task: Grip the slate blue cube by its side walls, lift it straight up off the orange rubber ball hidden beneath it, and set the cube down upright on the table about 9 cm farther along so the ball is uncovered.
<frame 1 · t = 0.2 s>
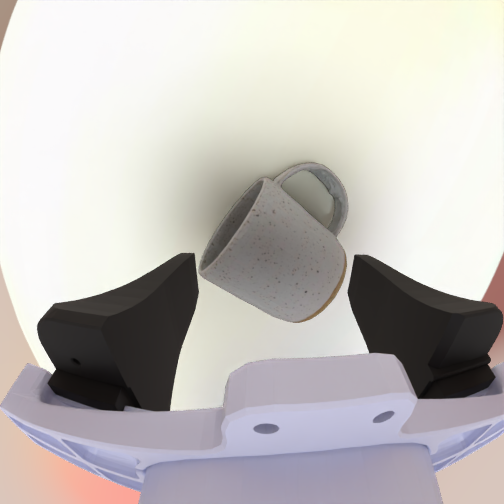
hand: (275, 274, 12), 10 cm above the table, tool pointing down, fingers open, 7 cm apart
ceramic mug: (280, 219, 22), on the table
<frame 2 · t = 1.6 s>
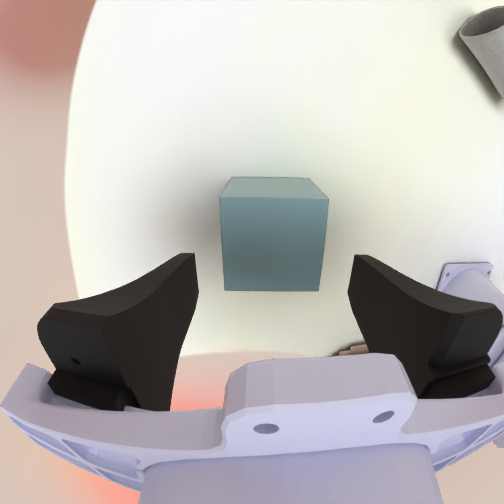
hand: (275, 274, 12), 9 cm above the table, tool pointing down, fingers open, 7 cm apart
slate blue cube: (270, 214, 20), on the table
ceramic mug: (486, 51, 12), on the table
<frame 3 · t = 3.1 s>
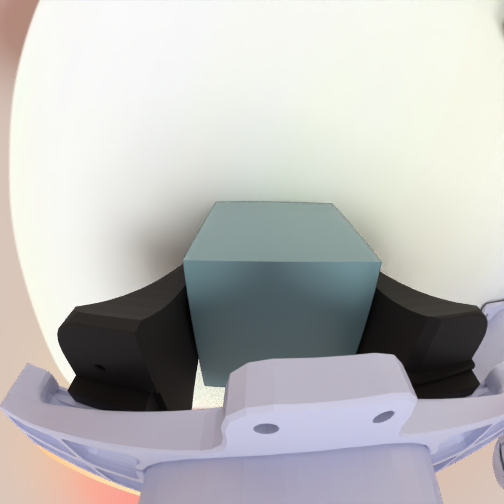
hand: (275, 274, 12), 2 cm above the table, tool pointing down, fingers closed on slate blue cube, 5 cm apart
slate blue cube: (273, 255, 14), on the table, touching gripper
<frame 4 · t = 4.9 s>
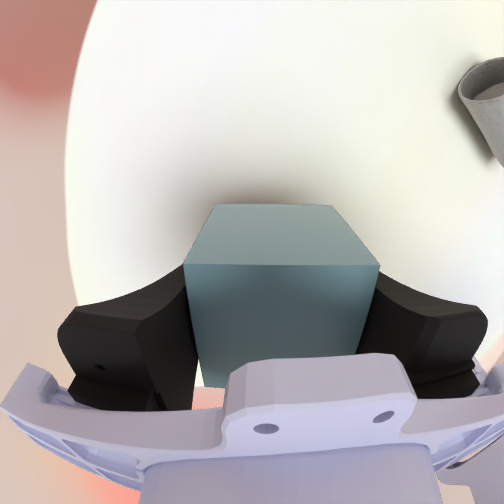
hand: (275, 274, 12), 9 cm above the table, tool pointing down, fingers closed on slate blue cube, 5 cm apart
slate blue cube: (273, 256, 14), point 7 cm above the table, touching gripper
ceramic mug: (486, 102, 14), on the table
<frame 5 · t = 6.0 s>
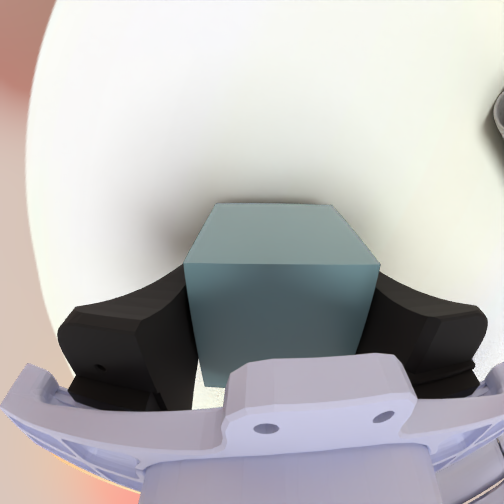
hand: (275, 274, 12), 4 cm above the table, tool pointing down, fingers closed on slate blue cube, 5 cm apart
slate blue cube: (273, 256, 14), point 2 cm above the table, touching gripper
when the fingers open (3 cm above the table, at t = 6.7 s): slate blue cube drops 1 cm, on the table.
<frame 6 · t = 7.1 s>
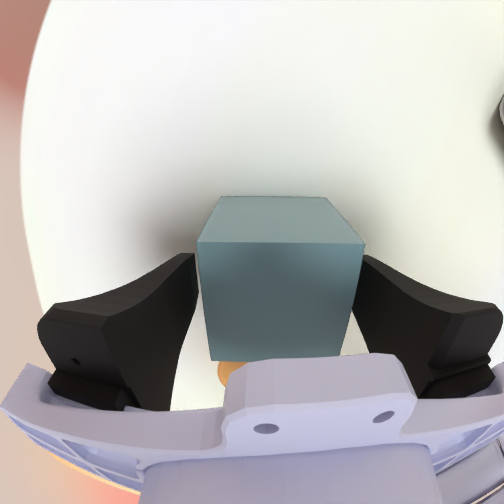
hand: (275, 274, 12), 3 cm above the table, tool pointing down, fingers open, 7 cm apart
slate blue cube: (273, 245, 15), on the table
orange ball: (239, 371, 18), on the table
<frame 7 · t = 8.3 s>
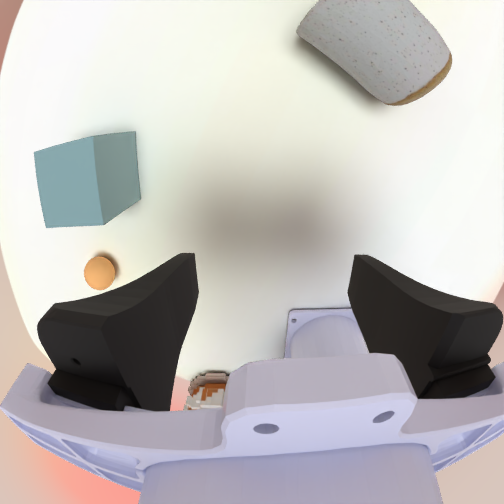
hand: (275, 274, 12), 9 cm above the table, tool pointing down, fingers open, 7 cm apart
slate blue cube: (108, 169, 19), on the table
orange ball: (99, 273, 22), on the table
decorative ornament: (222, 387, 30), on the table
ceramic mug: (365, 37, 14), on the table
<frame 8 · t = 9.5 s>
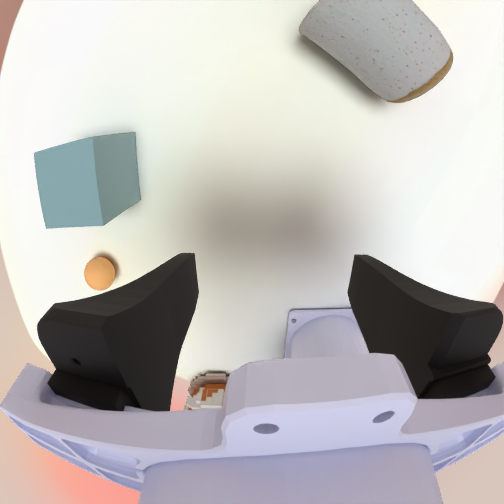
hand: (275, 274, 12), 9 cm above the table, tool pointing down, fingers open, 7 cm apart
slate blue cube: (108, 169, 19), on the table
orange ball: (99, 273, 22), on the table
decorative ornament: (222, 388, 30), on the table
ceramic mug: (366, 35, 14), on the table
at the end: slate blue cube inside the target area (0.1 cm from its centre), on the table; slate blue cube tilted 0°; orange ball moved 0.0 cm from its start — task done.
